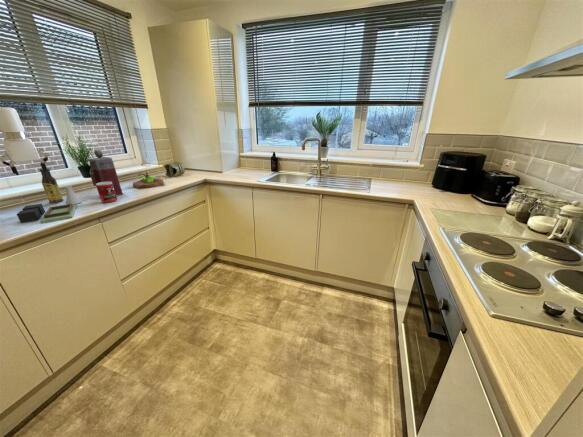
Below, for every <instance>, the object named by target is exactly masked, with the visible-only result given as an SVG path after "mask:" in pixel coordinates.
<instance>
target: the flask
mask: <svg viewBox="0 0 583 437" xmlns="http://www.w3.org/2000/svg"><path fill="white" fill-rule="evenodd" d="M63 188H64V189H65V193H66V194H65V196H66V198H65V205H68V204H73V205H75V204H76V205H77V204H81V203H83V201H82V199H80V198H79V196H78V195H77V194H76V193H75V191H74V190H73V188H72V185H66V186H63Z"/></svg>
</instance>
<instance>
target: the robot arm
mask: <svg viewBox="0 0 583 437" xmlns="http://www.w3.org/2000/svg"><path fill="white" fill-rule="evenodd" d="M0 132H1V135H2V137H3V140H2V145H3V148H4V150H5V153H3V154H1V155H0V163H1V164H4V166H8V167H10V170H11V172H12V174H13V175H16V176H20V173H19V170H18V169H17V167H16V166H15V165H16V164H17V163H23V162H33V161H34V162H35V161H38V162H39V165H40V168H42V170H43V171H44V172H46V170H47V168H48V167H47V165H46V163H47V161H48V160H49V156H50V154H49V153H47V152H44V151H40V150H38V149H37V148H36V145H35V144H34V142H33V141H32V140H31V138H29V137H32V134H31V133H29V132H26V130H25V127H24V125H23V123H22V121H21V118H20V116H19V113H18V111H17V110H16V109H15V108H14V107H8V106H7V107H5V106H4V107H3V106H0ZM41 155H42V156H44V157H43V158H42V159H41ZM6 158H8V160H9V161H10V162H7V161H6V160H5V159H6Z"/></svg>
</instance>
